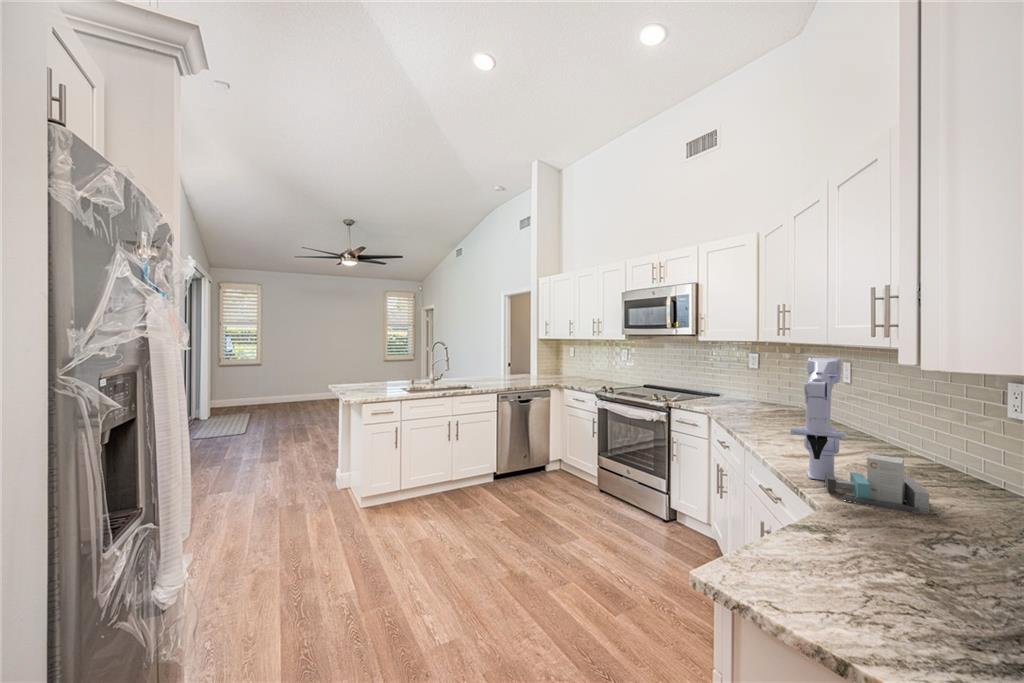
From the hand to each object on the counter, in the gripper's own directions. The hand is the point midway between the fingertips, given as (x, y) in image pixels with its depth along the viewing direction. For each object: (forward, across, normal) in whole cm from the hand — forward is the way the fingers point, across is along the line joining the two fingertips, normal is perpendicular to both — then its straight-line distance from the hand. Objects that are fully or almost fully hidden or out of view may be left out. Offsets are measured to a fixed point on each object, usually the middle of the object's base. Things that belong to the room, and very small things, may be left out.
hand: (816, 458), depth 135 cm
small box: (+11, +17, 0) cm, 20 cm away
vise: (+10, +16, 0) cm, 19 cm away
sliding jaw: (+10, +8, 0) cm, 13 cm away
